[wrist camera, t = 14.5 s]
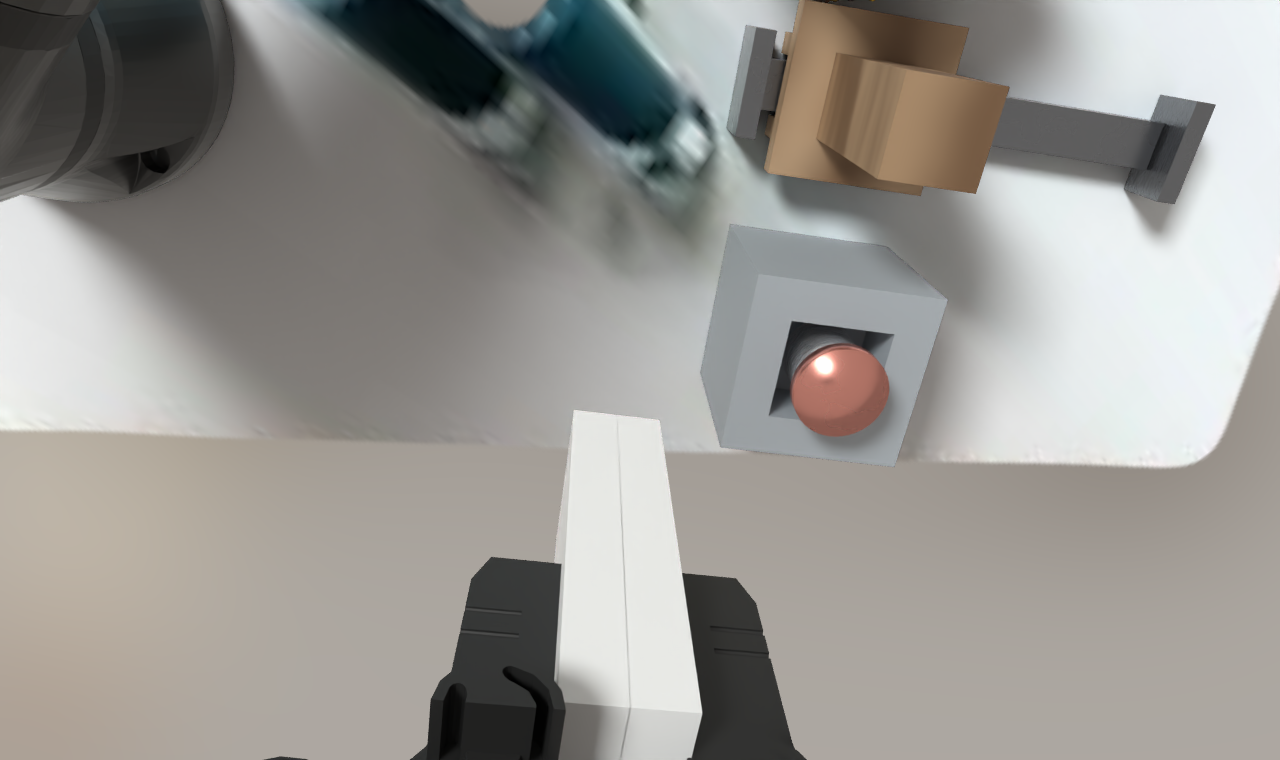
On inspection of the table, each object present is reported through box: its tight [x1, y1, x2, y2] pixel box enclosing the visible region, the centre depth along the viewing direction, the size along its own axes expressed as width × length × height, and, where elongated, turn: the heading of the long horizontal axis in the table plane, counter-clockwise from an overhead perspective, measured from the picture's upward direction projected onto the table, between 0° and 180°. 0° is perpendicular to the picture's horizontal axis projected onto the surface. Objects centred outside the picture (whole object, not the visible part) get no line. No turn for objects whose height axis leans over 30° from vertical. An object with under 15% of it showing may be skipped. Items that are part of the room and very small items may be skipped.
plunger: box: [782, 323, 889, 437], centre depth 41 cm, size 4×4×5 cm
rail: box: [727, 25, 1216, 204], centre depth 43 cm, size 23×5×3 cm, turn 81°
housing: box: [700, 224, 948, 467], centre depth 44 cm, size 9×9×9 cm
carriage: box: [764, 0, 1010, 196], centre depth 38 cm, size 8×8×13 cm
